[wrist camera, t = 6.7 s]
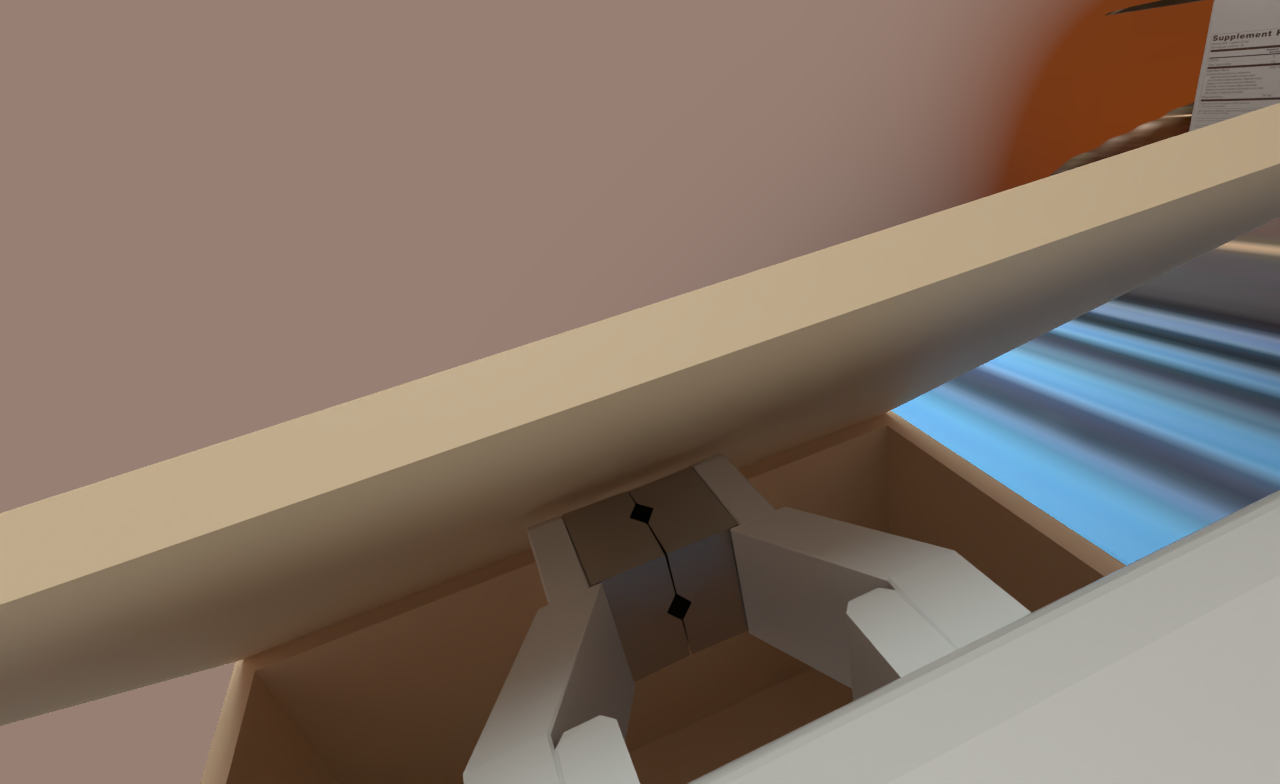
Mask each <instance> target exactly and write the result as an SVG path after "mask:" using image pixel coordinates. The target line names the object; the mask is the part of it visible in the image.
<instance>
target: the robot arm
mask: <svg viewBox="0 0 1280 784" xmlns="http://www.w3.org/2000/svg"><path fill="white" fill-rule="evenodd" d="M562 518H563V519H562ZM562 518H561V517H560V516H557V517H555V518H552V519H549V520H547V521H544V522H542V523H539V524H536V525H534V526H531V527H529V528H527V535H528V538H529V541H530V545H531V548H532V551H533V555H534V558H535V561H536V565H537V568H538V571H539V575H540V578H541V581H542V585H543V588H544V591H545V595H546V598H547V601H548V605H547V606H544V607H542V608H539V609H538V611H537V613H536V615H535V617H534V619H533V622H532V624H531V626H530V628H529V630H528V633H527V635H526V637H525V639H524V641H523V644H522V646H521V648H520V650H519V652H518V655H517V657H516V659H515V661H514V663H513V665H512V668H511V670H510V672H509V674H508V676H507V679H506V681H505V683H504V685H503V687H502V690H501V692H500V694H499V696H498V698H497V701H496V703H495V705H494V707H493V709H492V712H491V714H490V716H489V718H488V720H487V722H486V725H485V727H484V729H483V731H482V733H481V736H480V738H479V740H478V742H477V744H476V747H475V749H474V751H473V753H472V755H471V758H470V760H469V762H468V764H467V766H466V768H465V771H464V773H463V781H464V784H640V782H639V779H638V777H637V774H636V771H635V768H634V766H633V763H632V760H631V758H630V755H629V752H628V749H627V747H626V744H625V740H626V734H627V729H628V723H629V718H630V712H631V707H632V701H633V696H634V690H635V684H634V682H636V681H638V680H640V679H642V678H644V677H646V676H648V675H650V674H652V673H654V672H656V671H658V670H660V669H662V668H664V667H667V666H669V665H671V664H673V663H675V662H677V661H679V660H681V659H683V658H685V657H687V656H689V655H690V652H689V649H690V651H691V653H692V654H694V653H696V652H698V651H701V650H703V649H706V648H708V647H710V646H713V645H715V644H718V643H720V642H722V641H725V640H727V639H729V638H732V637H734V636H737V635H739V634H741V633H744V632H746V631H748V630H749V633H750V634H751V635H753V636H755V637H757V638H759V639H761V640H763V641H764V642H766V643H768V644H770V645H772V646H774V647H775V648H777V649H779V650H781V651H783V652H785V653H787V654H788V655H790V656H792V657H794V658H796V659H798V660H800V661H801V662H803V663H805V664H807V665H809V666H811V667H812V668H814V669H816V670H818V671H820V672H822V673H824V674H825V675H827V676H829V677H831V678H833V679H835V680H837V681H838V682H840V683H842V684H844V685H846V686H848V687H850V688H851V689H852V694H853V702H851V703H849V704H847V705H845V706H843V707H841V708H839V709H837V710H835V711H833V712H831V713H829V714H827V715H825V716H823V717H821V718H818V719H816V720H814V721H812V722H810V723H808V724H806V725H804V726H802V727H800V728H798V729H796V730H794V731H792V732H790V733H788V734H786V735H784V736H782V737H780V738H778V739H776V740H774V741H772V742H770V743H768V744H766V745H764V746H762V747H760V748H758V749H756V750H754V751H752V752H750V753H748V754H746V755H744V756H742V757H740V758H738V759H736V760H734V761H732V762H730V763H728V764H726V765H724V766H722V767H720V768H718V769H716V770H714V771H712V772H710V773H707V774H705V775H703V776H701V777H699V778H697V779H695V780H693V781H691V782H689V783H687V784H1280V490H1278V491H1276V492H1274V493H1272V494H1270V495H1268V496H1266V497H1264V498H1262V499H1260V500H1258V501H1256V502H1254V503H1252V504H1250V505H1248V506H1246V507H1244V508H1242V509H1240V510H1238V511H1236V512H1234V513H1232V514H1230V515H1228V516H1226V517H1224V518H1222V519H1220V520H1218V521H1216V522H1214V523H1212V524H1210V525H1208V526H1206V527H1204V528H1202V529H1200V530H1198V531H1196V532H1194V533H1192V534H1190V535H1188V536H1186V537H1184V538H1182V539H1180V540H1177V541H1175V542H1173V543H1171V544H1169V545H1167V546H1165V547H1163V548H1161V549H1159V550H1157V551H1155V552H1153V553H1151V554H1149V555H1147V556H1145V557H1143V558H1141V559H1139V560H1137V561H1135V562H1133V563H1131V564H1129V565H1127V566H1125V567H1123V568H1121V569H1119V570H1117V571H1115V572H1113V573H1111V574H1109V575H1107V576H1105V577H1103V578H1101V579H1099V580H1097V581H1095V582H1093V583H1091V584H1089V585H1087V586H1085V587H1083V588H1081V589H1079V590H1076V591H1074V592H1072V593H1070V594H1068V595H1066V596H1064V597H1062V598H1060V599H1058V600H1056V601H1054V602H1052V603H1050V604H1048V605H1046V606H1044V607H1042V608H1040V609H1038V610H1036V611H1034V612H1032V613H1031V612H1030V611H1029V610H1028V609H1026V608H1025V607H1024V606H1023V605H1021V604H1020V603H1019V602H1018V601H1017V600H1015V599H1014V598H1013V597H1012V596H1010V595H1009V594H1008V593H1007V592H1005V591H1004V590H1003V589H1002V588H1000V587H999V586H998V585H997V584H995V583H994V582H993V581H992V580H990V579H989V578H988V577H987V576H986V575H984V574H983V573H982V572H981V571H979V570H978V569H977V568H976V567H974V566H973V565H972V564H971V563H969V562H968V561H967V560H966V559H964V558H963V557H962V556H961V555H959V554H958V553H957V552H956V551H955V550H951V549H947V548H943V547H939V546H935V545H931V544H928V543H924V542H920V541H916V540H912V539H908V538H904V537H901V536H897V535H893V534H889V533H885V532H881V531H878V530H874V529H870V528H866V527H862V526H858V525H854V524H851V523H847V522H843V521H839V520H835V519H831V518H827V517H824V516H820V515H816V514H812V513H808V512H804V511H801V510H797V509H793V508H789V507H783V508H780V509H778V510H775V508H774V507H773V506H772V505H771V504H770V503H769V502H768V501H767V500H766V499H765V498H764V497H763V496H762V495H761V494H760V493H759V491H758V490H757V489H756V488H755V487H754V486H753V485H752V484H751V483H750V482H749V481H748V480H747V479H746V478H745V477H744V476H743V475H742V473H741V472H740V471H739V470H738V469H737V468H736V467H735V466H734V465H733V464H732V463H731V462H730V461H729V460H728V459H727V458H726V456H725V455H722V454H719V453H718V454H716V455H714V456H711V457H709V458H707V459H704V460H702V461H699V462H697V463H695V464H692V465H690V466H689V467H688V468H685V469H683V470H680V471H678V472H675V473H673V474H670V475H668V476H665V477H663V478H660V479H658V480H655V481H653V482H650V483H648V484H645V485H643V486H640V487H638V488H635V489H633V490H630V491H628V492H623V493H620V494H617V495H615V496H612V497H609V498H606V499H604V500H601V501H598V502H595V503H593V504H590V505H587V506H584V507H582V508H579V509H576V510H573V511H571V512H568V513H565V514H562ZM688 647H689V648H688Z"/></svg>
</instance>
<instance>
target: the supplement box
mask: <svg viewBox="0 0 1280 784" xmlns="http://www.w3.org/2000/svg"><path fill="white" fill-rule="evenodd" d="M1277 103H1280V0H1214V4H1213V9H1212V15H1211V20H1210V25H1209V30H1208V35H1207V41H1206V46H1205V51H1204V57H1203V61H1202V66H1201V71H1200V76H1199V81H1198V87H1197V92H1196V97H1195V102H1194V107H1193V113H1192V118H1191V124H1190V129H1189V132H1190V131H1193V130H1196V129H1200V128H1203V127H1206V126H1209V125H1212V124H1215V123H1218V122H1221V121H1225V120H1228V119H1231V118H1234V117H1237V116H1240V115H1243V114H1246V113H1249V112H1253V111H1256V110H1259V109H1262V108H1265V107H1268V106H1271V105H1274V104H1277Z"/></svg>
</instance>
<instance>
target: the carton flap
mask: <svg viewBox="0 0 1280 784" xmlns="http://www.w3.org/2000/svg"><path fill="white" fill-rule="evenodd" d="M1279 216H1280V103H1277V104H1274V105H1271V106H1268V107H1265V108H1262V109H1259V110H1256V111H1253V112H1249V113H1246V114H1243V115H1240V116H1237V117H1234V118H1231V119H1228V120H1225V121H1221V122H1218V123H1215V124H1212V125H1209V126H1206V127H1203V128H1200V129H1196V130H1193V131H1190V132H1187V133H1184V134H1181V135H1178V136H1175V137H1172V138H1168V139H1165V140H1162V141H1159V142H1156V143H1153V144H1150V145H1147V146H1143V147H1140V148H1137V149H1134V150H1131V151H1128V152H1125V153H1122V154H1119V155H1115V156H1112V157H1109V158H1106V159H1103V160H1100V161H1097V162H1094V163H1091V164H1087V165H1084V166H1081V167H1078V168H1075V169H1072V170H1069V171H1066V172H1062V173H1059V174H1056V175H1053V176H1050V177H1047V178H1044V179H1041V180H1038V181H1034V182H1032V183H1028V184H1025V185H1022V186H1019V187H1016V188H1013V189H1010V190H1007V191H1004V192H1000V193H997V194H994V195H991V196H988V197H985V198H982V199H978V200H975V201H972V202H969V203H966V204H963V205H960V206H957V207H954V208H951V209H947V210H944V211H941V212H938V213H935V214H932V215H929V216H926V217H922V218H919V219H916V220H913V221H910V222H907V223H904V224H901V225H897V226H895V227H891V228H888V229H885V230H882V231H879V232H876V233H873V234H869V235H866V236H863V237H860V238H857V239H854V240H851V241H848V242H844V243H841V244H838V245H835V246H832V247H829V248H826V249H823V250H819V251H816V252H813V253H810V254H807V255H804V256H801V257H798V258H795V259H791V260H788V261H786V262H783V263H779V264H776V265H773V266H770V267H767V268H763V269H760V270H758V271H754V272H751V273H748V274H745V275H742V276H738V277H735V278H733V279H729V280H726V281H723V282H720V283H717V284H714V285H710V286H708V287H704V288H701V289H698V290H695V291H692V292H689V293H686V294H683V295H679V296H676V297H673V298H670V299H667V300H664V301H661V302H658V303H654V304H652V305H649V306H645V307H642V308H639V309H636V310H633V311H629V312H626V313H623V314H620V315H617V316H614V317H611V318H608V319H604V320H602V321H598V322H595V323H592V324H589V325H586V326H583V327H580V328H577V329H573V330H571V331H568V332H565V333H561V334H558V335H555V336H552V337H549V338H545V339H542V340H539V341H536V342H533V343H530V344H527V345H524V346H520V347H517V348H515V349H511V350H508V351H505V352H502V353H499V354H496V355H492V356H489V357H486V358H483V359H480V360H477V361H474V362H471V363H467V364H464V365H461V366H458V367H455V368H452V369H449V370H446V371H442V372H439V373H436V374H433V375H430V376H427V377H424V378H421V379H418V380H415V381H411V382H408V383H405V384H402V385H399V386H396V387H393V388H390V389H386V390H383V391H380V392H377V393H374V394H371V395H368V396H365V397H361V398H358V399H355V400H352V401H349V402H346V403H343V404H340V405H337V406H333V407H330V408H328V409H325V410H321V411H318V412H315V413H312V414H309V415H306V416H303V417H299V418H296V419H293V420H290V421H287V422H284V423H280V424H277V425H274V426H271V427H268V428H265V429H262V430H259V431H256V432H253V433H250V434H246V435H243V436H240V437H237V438H234V439H231V440H228V441H224V442H221V443H218V444H215V445H212V446H209V447H206V448H203V449H199V450H196V451H193V452H190V453H187V454H184V455H181V456H178V457H175V458H172V459H169V460H165V461H162V462H159V463H156V464H153V465H150V466H146V467H143V468H141V469H137V470H134V471H131V472H128V473H125V474H122V475H119V476H116V477H112V478H109V479H106V480H103V481H100V482H97V483H94V484H91V485H88V486H84V487H81V488H78V489H75V490H72V491H69V492H65V493H62V494H59V495H56V496H53V497H50V498H47V499H44V500H41V501H38V502H34V503H31V504H28V505H25V506H22V507H19V508H16V509H13V510H9V511H7V512H4V513H0V726H2V725H5V724H9V723H12V722H16V721H19V720H24V719H27V718H31V717H35V716H38V715H42V714H45V713H49V712H53V711H56V710H60V709H64V708H68V707H71V706H75V705H79V704H82V703H86V702H89V701H93V700H97V699H100V698H104V697H108V696H111V695H115V694H119V693H122V692H126V691H129V690H133V689H137V688H141V687H144V686H148V685H152V684H155V683H159V682H162V681H166V680H170V679H173V678H177V677H181V676H184V675H188V674H191V673H195V672H199V671H203V670H206V669H210V668H214V667H217V666H221V665H224V664H228V663H232V662H236V661H239V660H243V659H246V658H248V657H251V656H254V655H256V654H259V653H261V652H264V651H267V650H269V649H272V648H274V647H277V646H280V645H282V644H285V643H287V642H290V641H293V640H295V639H298V638H301V637H303V636H306V635H308V634H311V633H314V632H316V631H319V630H321V629H324V628H327V627H329V626H332V625H334V624H337V623H340V622H342V621H345V620H347V619H350V618H353V617H355V616H358V615H360V614H363V613H366V612H368V611H371V610H373V609H376V608H379V607H381V606H384V605H386V604H389V603H392V602H394V601H397V600H399V599H402V598H405V597H407V596H410V595H412V594H415V593H418V592H420V591H423V590H425V589H428V588H431V587H433V586H436V585H439V584H441V583H444V582H446V581H449V580H452V579H454V578H457V577H459V576H462V575H465V574H467V573H470V572H472V571H475V570H478V569H480V568H483V567H485V566H488V565H491V564H493V563H496V562H498V561H501V560H504V559H506V558H509V557H511V556H514V555H517V554H519V553H522V552H524V551H527V550H530V549H532V548H531V545H530V541H529V538H528V535H527V528H529V527H531V526H534V525H536V524H539V523H542V522H544V521H547V520H549V519H552V518H555V517H557V516H560V517H561V518H562V514H565V513H568V512H571V511H573V510H576V509H579V508H582V507H584V506H587V505H590V504H593V503H595V502H598V501H601V500H604V499H606V498H609V497H612V496H615V495H617V494H620V493H623V492H628V491H630V490H633V489H635V488H638V487H640V486H643V485H645V484H648V483H650V482H653V481H655V480H658V479H660V478H663V477H665V476H668V475H670V474H673V473H675V472H678V471H680V470H683V469H685V468H688V467H689V466H690V465H692V464H695V463H697V462H699V461H702V460H704V459H707V458H709V457H711V456H714V455H716V454H718V453H719V454H722V455H725V456H726V458H727V459H728V460H729V461H730V462H731V463H732V464H733V465H734V466H735V467H736V468H737V469H741V468H743V467H746V466H748V465H751V464H754V463H756V462H759V461H761V460H764V459H767V458H769V457H772V456H774V455H777V454H780V453H782V452H785V451H787V450H790V449H793V448H795V447H798V446H800V445H803V444H806V443H808V442H811V441H813V440H816V439H819V438H821V437H824V436H827V435H829V434H832V433H834V432H837V431H840V430H842V429H845V428H847V427H850V426H853V425H855V424H858V423H860V422H863V421H866V420H868V419H871V418H873V417H876V416H879V415H881V414H884V413H886V412H888V411H890V410H892V409H894V408H896V407H898V406H900V405H902V404H904V403H906V402H908V401H910V400H912V399H914V398H916V397H918V396H920V395H922V394H924V393H926V392H928V391H930V390H932V389H934V388H936V387H938V386H940V385H942V384H944V383H946V382H948V381H950V380H952V379H954V378H956V377H958V376H960V375H962V374H964V373H966V372H968V371H970V370H972V369H974V368H976V367H978V366H980V365H982V364H984V363H986V362H988V361H990V360H992V359H994V358H996V357H998V356H1000V355H1002V354H1004V353H1006V352H1009V351H1011V350H1013V349H1015V348H1017V347H1019V346H1021V345H1023V344H1025V343H1027V342H1029V341H1031V340H1033V339H1035V338H1037V337H1039V336H1041V335H1043V334H1045V333H1047V332H1049V331H1051V330H1053V329H1055V328H1057V327H1059V326H1061V325H1063V324H1065V323H1067V322H1069V321H1071V320H1073V319H1075V318H1077V317H1079V316H1081V315H1083V314H1085V313H1087V312H1089V311H1091V310H1093V309H1095V308H1097V307H1099V306H1101V305H1103V304H1105V303H1107V302H1109V301H1111V300H1113V299H1115V298H1117V297H1119V296H1121V295H1123V294H1125V293H1127V292H1129V291H1131V290H1133V289H1135V288H1137V287H1139V286H1141V285H1143V284H1145V283H1147V282H1149V281H1151V280H1153V279H1155V278H1157V277H1159V276H1161V275H1163V274H1165V273H1167V272H1169V271H1171V270H1173V269H1175V268H1177V267H1179V266H1181V265H1183V264H1185V263H1187V262H1189V261H1191V260H1193V259H1195V258H1197V257H1199V256H1201V255H1203V254H1205V253H1207V252H1209V251H1211V250H1213V249H1215V248H1217V247H1219V246H1221V245H1223V244H1225V243H1227V242H1229V241H1231V240H1233V239H1235V238H1237V237H1239V236H1241V235H1243V234H1245V233H1247V232H1249V231H1251V230H1253V229H1255V228H1257V227H1259V226H1261V225H1263V224H1265V223H1267V222H1269V221H1271V220H1273V219H1275V218H1277V217H1279ZM562 519H563V518H562Z"/></svg>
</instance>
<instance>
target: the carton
mask: <svg viewBox="0 0 1280 784" xmlns="http://www.w3.org/2000/svg"><path fill="white" fill-rule="evenodd" d="M738 470H739V471H740V472H741V473H742V475H743V476H744V477H745V478H746V479H747V480H748V481H749V482H750V483H751V484H752V485H753V486H754V487H755V488H756V489H757V490H758V491H759V493H760V494H761V495H762V496H763V497H764V498H765V499H766V500H767V501H768V502H769V503H770V504H771V505H772V506H773V507H774V508H775V510H778V509H780V508H783V507H789V508H793V509H797V510H801V511H804V512H808V513H812V514H816V515H820V516H824V517H827V518H831V519H835V520H839V521H843V522H847V523H851V524H854V525H858V526H862V527H866V528H870V529H874V530H878V531H881V532H885V533H889V534H893V535H897V536H901V537H904V538H908V539H912V540H916V541H920V542H924V543H928V544H931V545H935V546H939V547H943V548H947V549H951V550H955V551H956V552H957V553H958V554H959V555H961V556H962V557H963V558H964V559H966V560H967V561H968V562H969V563H971V564H972V565H973V566H974V567H976V568H977V569H978V570H979V571H981V572H982V573H983V574H984V575H986V576H987V577H988V578H989V579H990V580H992V581H993V582H994V583H995V584H997V585H998V586H999V587H1000V588H1002V589H1003V590H1004V591H1005V592H1007V593H1008V594H1009V595H1010V596H1012V597H1013V598H1014V599H1015V600H1017V601H1018V602H1019V603H1020V604H1021V605H1023V606H1024V607H1025V608H1026V609H1028V610H1029V611H1030V612H1031V613H1032V612H1034V611H1036V610H1038V609H1040V608H1042V607H1044V606H1046V605H1048V604H1050V603H1052V602H1054V601H1056V600H1058V599H1060V598H1062V597H1064V596H1066V595H1068V594H1070V593H1072V592H1074V591H1076V590H1079V589H1081V588H1083V587H1085V586H1087V585H1089V584H1091V583H1093V582H1095V581H1097V580H1099V579H1101V578H1103V577H1105V576H1107V575H1109V574H1111V573H1113V572H1115V571H1117V570H1119V569H1121V568H1123V567H1125V566H1126V565H1124V564H1123V563H1121V562H1120V561H1118V560H1117V559H1115V558H1114V557H1112V556H1111V555H1109V554H1108V553H1106V552H1105V551H1103V550H1102V549H1100V548H1099V547H1097V546H1095V545H1094V544H1092V543H1091V542H1089V541H1088V540H1086V539H1085V538H1083V537H1082V536H1080V535H1079V534H1077V533H1076V532H1074V531H1073V530H1071V529H1070V528H1068V527H1067V526H1065V525H1064V524H1062V523H1061V522H1059V521H1058V520H1056V519H1055V518H1053V517H1051V516H1050V515H1048V514H1047V513H1045V512H1044V511H1042V510H1041V509H1039V508H1038V507H1036V506H1035V505H1033V504H1032V503H1030V502H1029V501H1027V500H1026V499H1024V498H1023V497H1021V496H1020V495H1018V494H1017V493H1015V492H1014V491H1012V490H1011V489H1009V488H1007V487H1006V486H1004V485H1003V484H1001V483H1000V482H998V481H997V480H995V479H994V478H992V477H991V476H989V475H988V474H986V473H985V472H983V471H982V470H980V469H979V468H977V467H976V466H974V465H973V464H971V463H970V462H968V461H967V460H965V459H963V458H962V457H960V456H959V455H957V454H956V453H954V452H953V451H951V450H950V449H948V448H947V447H945V446H944V445H942V444H941V443H939V442H938V441H936V440H935V439H933V438H932V437H930V436H929V435H927V434H926V433H924V432H923V431H921V430H919V429H918V428H916V427H915V426H913V425H912V424H910V423H909V422H907V421H906V420H904V419H903V418H901V417H900V416H898V415H897V414H895V413H894V412H892V411H889V412H886V413H884V414H881V415H879V416H876V417H873V418H871V419H868V420H866V421H863V422H860V423H858V424H855V425H853V426H850V427H847V428H845V429H842V430H840V431H837V432H834V433H832V434H829V435H827V436H824V437H821V438H819V439H816V440H814V441H811V442H808V443H806V444H803V445H801V446H798V447H795V448H793V449H790V450H787V451H785V452H782V453H780V454H777V455H774V456H772V457H769V458H767V459H764V460H761V461H759V462H756V463H754V464H751V465H748V466H746V467H743V468H741V469H738ZM547 605H548V601H547V598H546V595H545V591H544V588H543V585H542V581H541V578H540V575H539V571H538V568H537V565H536V561H535V558H534V555H533V551H532V549H530V550H527V551H524V552H522V553H519V554H517V555H514V556H511V557H509V558H506V559H504V560H501V561H498V562H496V563H493V564H491V565H488V566H485V567H483V568H480V569H478V570H475V571H472V572H470V573H467V574H465V575H462V576H459V577H457V578H454V579H452V580H449V581H446V582H444V583H441V584H439V585H436V586H433V587H431V588H428V589H426V590H423V591H420V592H418V593H415V594H413V595H410V596H407V597H405V598H402V599H400V600H397V601H394V602H392V603H389V604H386V605H384V606H381V607H379V608H376V609H373V610H371V611H368V612H366V613H363V614H360V615H358V616H355V617H353V618H350V619H347V620H345V621H342V622H340V623H337V624H334V625H332V626H329V627H327V628H324V629H321V630H319V631H316V632H314V633H311V634H308V635H306V636H303V637H301V638H298V639H295V640H293V641H290V642H288V643H285V644H282V645H280V646H277V647H275V648H272V649H269V650H267V651H264V652H261V653H259V654H256V655H254V656H251V657H248V658H246V659H243V660H241V661H238V662H236V663H235V666H234V669H233V673H232V676H231V680H230V683H229V686H228V690H227V694H226V697H225V700H224V704H223V707H222V710H221V714H220V717H219V721H218V724H217V727H216V731H215V734H214V738H213V742H212V745H211V748H210V752H209V755H208V758H207V762H206V765H205V768H204V772H203V775H202V779H201V782H200V784H464V781H463V773H464V771H465V768H466V766H467V764H468V762H469V760H470V758H471V755H472V753H473V751H474V749H475V747H476V744H477V742H478V740H479V738H480V736H481V733H482V731H483V729H484V727H485V725H486V722H487V720H488V718H489V716H490V714H491V712H492V709H493V707H494V705H495V703H496V701H497V698H498V696H499V694H500V692H501V690H502V687H503V685H504V683H505V681H506V679H507V676H508V674H509V672H510V670H511V668H512V665H513V663H514V661H515V659H516V657H517V655H518V652H519V650H520V648H521V646H522V644H523V641H524V639H525V637H526V635H527V633H528V630H529V628H530V626H531V624H532V622H533V619H534V617H535V615H536V613H537V611H538V609H539V608H542V607H544V606H547ZM688 648H689V647H688ZM689 652H690V655H689V656H687V657H685V658H683V659H681V660H679V661H677V662H675V663H673V664H671V665H669V666H667V667H664V668H662V669H660V670H658V671H656V672H654V673H652V674H650V675H648V676H646V677H644V678H642V679H640V680H638V681H636V682H634V684H635V690H634V696H633V701H632V707H631V712H630V718H629V723H628V729H627V734H626V740H625V744H626V747H627V749H628V752H629V755H630V758H631V760H632V763H633V766H634V768H635V771H636V774H637V777H638V779H639V782H640V784H687V783H689V782H691V781H693V780H695V779H697V778H699V777H701V776H703V775H705V774H707V773H710V772H712V771H714V770H716V769H718V768H720V767H722V766H724V765H726V764H728V763H730V762H732V761H734V760H736V759H738V758H740V757H742V756H744V755H746V754H748V753H750V752H752V751H754V750H756V749H758V748H760V747H762V746H764V745H766V744H768V743H770V742H772V741H774V740H776V739H778V738H780V737H782V736H784V735H786V734H788V733H790V732H792V731H794V730H796V729H798V728H800V727H802V726H804V725H806V724H808V723H810V722H812V721H814V720H816V719H818V718H821V717H823V716H825V715H827V714H829V713H831V712H833V711H835V710H837V709H839V708H841V707H843V706H845V705H847V704H849V703H851V702H853V694H852V689H851V688H850V687H848V686H846V685H844V684H842V683H840V682H838V681H837V680H835V679H833V678H831V677H829V676H827V675H825V674H824V673H822V672H820V671H818V670H816V669H814V668H812V667H811V666H809V665H807V664H805V663H803V662H801V661H800V660H798V659H796V658H794V657H792V656H790V655H788V654H787V653H785V652H783V651H781V650H779V649H777V648H775V647H774V646H772V645H770V644H768V643H766V642H764V641H763V640H761V639H759V638H757V637H755V636H753V635H751V634H750V633H749V630H748V631H746V632H744V633H741V634H739V635H737V636H734V637H732V638H729V639H727V640H725V641H722V642H720V643H718V644H715V645H713V646H710V647H708V648H706V649H703V650H701V651H698V652H696V653H694V654H692V653H691V651H690V649H689Z"/></svg>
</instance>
